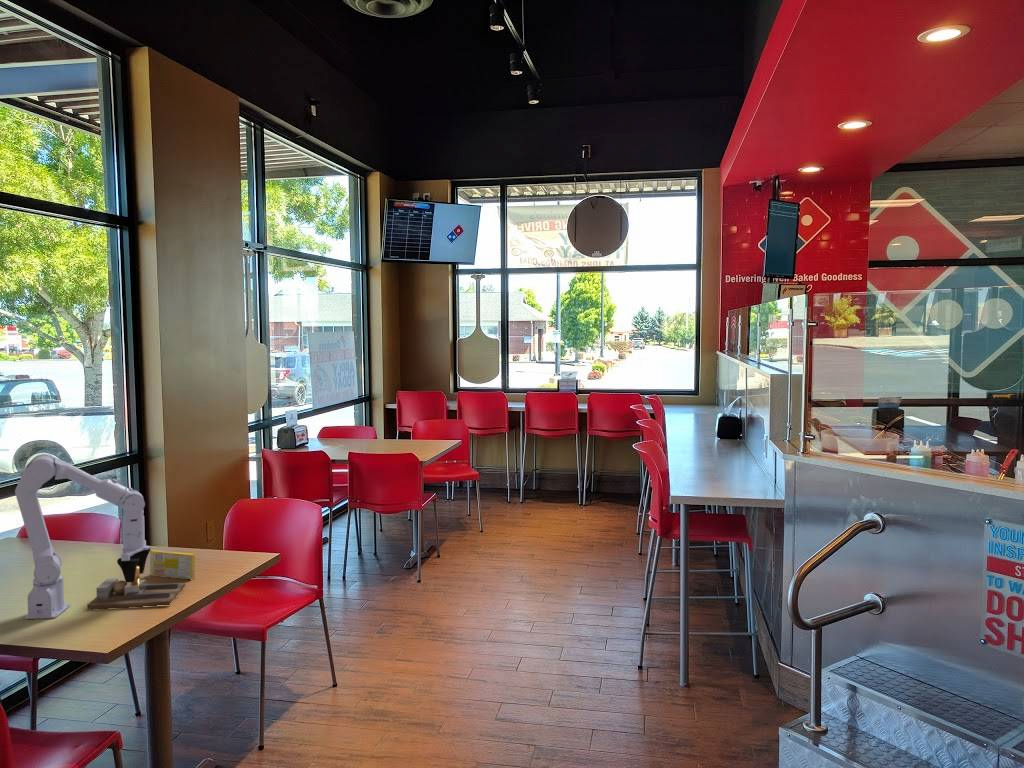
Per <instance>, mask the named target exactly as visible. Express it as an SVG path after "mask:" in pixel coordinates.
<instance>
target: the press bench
mask: <svg viewBox="0 0 1024 768" xmlns="http://www.w3.org/2000/svg"><path fill="white" fill-rule="evenodd" d="M118 581H119V578H116V577H115V578H107V579H105V580H104V581H102V583H101V584H99V585H98V586H97V587H96V597H95V598H94V599H92V600H91V601H90V602H89V603H87V605H86V607H87V611H94V610H93V609H101V610H109V609H108V608H124V609H130V608H129V607H143V606H157V605H170V603H171V602H172V601H173V600H174V599H175V598H176V596H177V595H178V594H179V593H180V592H181V591H182V590H183V588H184V587H185V586H186V582H175V583H173V582H172V583H150V584H149V583H148V584H147V583H146V589H145V590H144V591H143V592H142V593H136V594H126V596H124V594H120V595H119V594H116V593H115V592H114V591H113V586H114V584H115V583H116V582H118ZM183 591H184V590H183ZM183 591H182V592H183ZM182 592H181V593H182ZM181 593H180V594H181ZM176 599H177V598H176ZM176 599H175V600H176ZM170 606H171V605H170ZM89 609H90V610H89Z"/></svg>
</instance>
